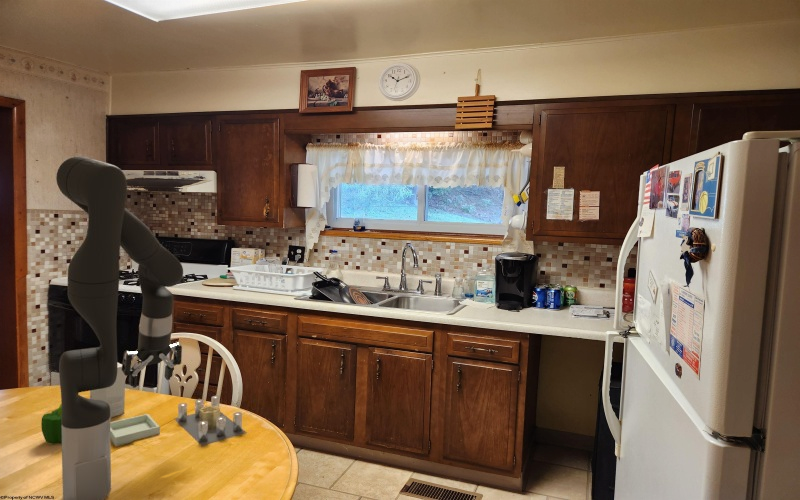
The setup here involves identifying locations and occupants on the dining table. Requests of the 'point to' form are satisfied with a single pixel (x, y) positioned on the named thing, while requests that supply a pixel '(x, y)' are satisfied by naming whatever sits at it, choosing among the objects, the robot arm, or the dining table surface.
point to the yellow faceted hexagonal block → (209, 415)
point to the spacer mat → (193, 429)
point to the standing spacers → (204, 424)
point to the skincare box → (113, 394)
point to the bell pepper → (52, 426)
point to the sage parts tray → (132, 429)
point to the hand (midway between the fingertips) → (150, 382)
